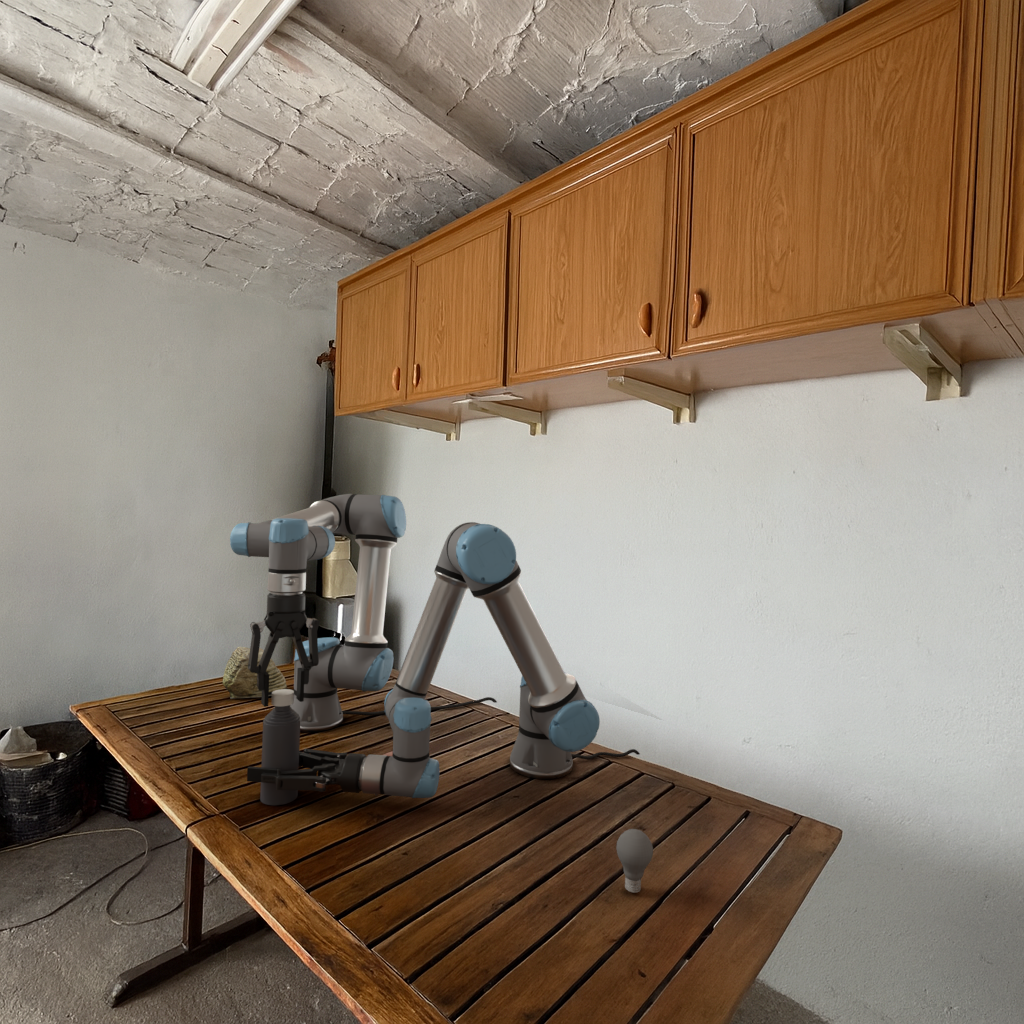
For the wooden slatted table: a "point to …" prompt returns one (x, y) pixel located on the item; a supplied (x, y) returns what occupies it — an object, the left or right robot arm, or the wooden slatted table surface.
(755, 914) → the wooden slatted table surface
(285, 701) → the cap
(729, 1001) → the wooden slatted table surface
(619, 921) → the wooden slatted table surface
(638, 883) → the light bulb
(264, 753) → the bottle
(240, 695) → the fossil
